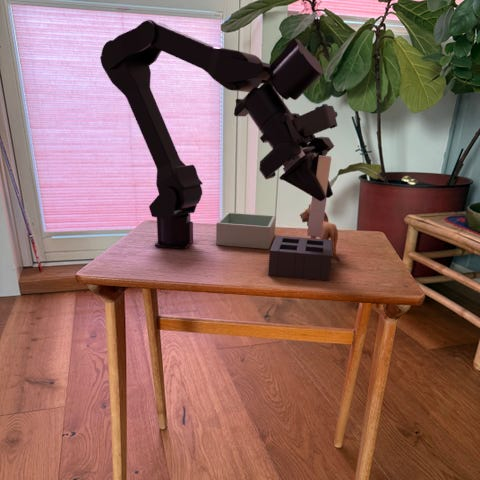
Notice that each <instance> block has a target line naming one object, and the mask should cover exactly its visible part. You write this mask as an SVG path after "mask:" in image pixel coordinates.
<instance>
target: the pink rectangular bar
mask: <svg viewBox="0 0 480 480" xmlns="http://www.w3.org/2000/svg"><path fill="white" fill-rule="evenodd" d="M331 164H332V156H331V155H326V156H321V155H319V157H318V165H317V172H316V177H317V179H318V181H319V183H320V185H321V187H322V189H323V191H324V194H325V196H326V192H327V185H328V180H329V178H330V170H331ZM327 199H328V198H327V197H326V198H325V199H324V200H323V201H319V200H317V199H316V198H314V197H312V196H311V202H310V204H311V209H310V216H309V224H308V226H307V232H306V233H307V234H306V235H307V237H311V236H315V237H316V238H320V237H321V234H322V227H323V220H324V213H326V205H327Z"/></svg>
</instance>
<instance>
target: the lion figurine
mask: <svg viewBox="0 0 480 480" xmlns="http://www.w3.org/2000/svg"><path fill="white" fill-rule="evenodd" d="M310 209H311V203H309V204H308V207H307V208H306V209H305V210H304V211H303V212H301V213H300V214H299V216H300V219H301V222H302V223H306V226H307V227H308V224H309V216H310ZM310 238H313V239H317V237H315V236H310ZM338 238H339V231H338V228H337V225H336V224H335V223H332V222H329V217H328V214H327V213H326V212H325V213H324V220H323V227H322V234H321V237H319V239H326V240H332V258H334V259H335V261H337V262H341V258H340V257H339V256H338V254H337V244H338Z"/></svg>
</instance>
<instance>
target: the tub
mask: <svg viewBox="0 0 480 480" xmlns="http://www.w3.org/2000/svg"><path fill="white" fill-rule="evenodd" d="M276 220H277V215H268V214H257V213H256V214H255V213H240V212H226V213H225V214H224V215H223V216H222V217H221V218H220V219H219V220H218V221H217V222H216V233H215V236H216V237H215V239H216V240H215V241H216V242H215V244H216V246H227V247H238V248H240V247H241V248H251V249H264V250H270V248H271V246H272V243H273V241H274V239H275V237H276V234H275V233H276Z"/></svg>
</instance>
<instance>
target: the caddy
mask: <svg viewBox="0 0 480 480" xmlns="http://www.w3.org/2000/svg"><path fill="white" fill-rule="evenodd" d="M332 259H333V257H332V240H331V239H328V240H326V239H321V238H316V239H313V238H311V237H301V236H299V237H298V236H287V235H275V237H274V239H273V241H272V244H271V246H270V248H269V259H268V273H267V275H268V276H272V277H283V278H284V277H285V278H293V279H303V280H315V281H326V282H328V281H330V276H331V268H332Z"/></svg>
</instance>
